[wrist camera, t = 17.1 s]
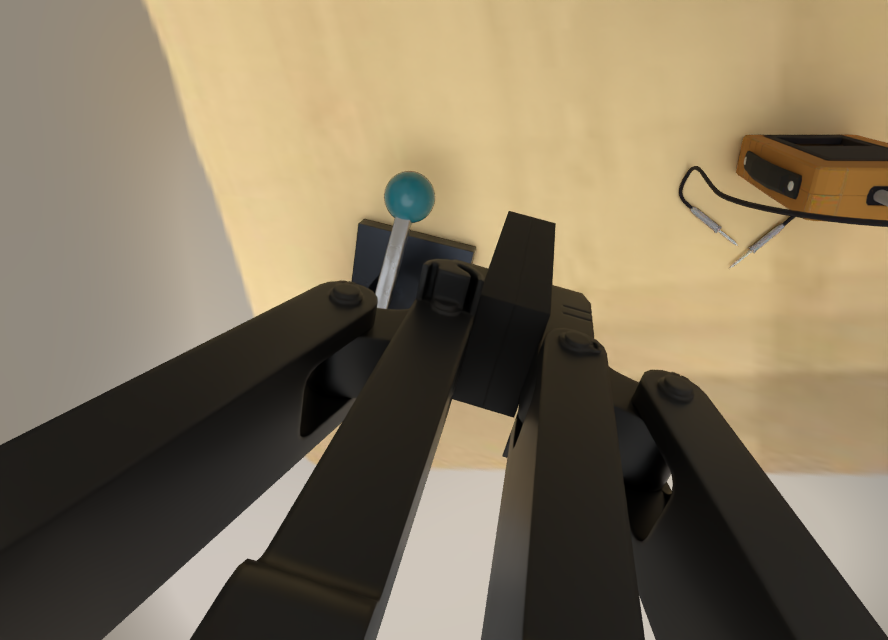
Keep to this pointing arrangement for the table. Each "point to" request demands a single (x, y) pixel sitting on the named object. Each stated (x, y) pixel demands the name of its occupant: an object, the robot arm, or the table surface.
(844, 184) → the multimeter
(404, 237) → the ball knob joystick
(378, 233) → the lever base
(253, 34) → the table surface
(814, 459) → the table surface
